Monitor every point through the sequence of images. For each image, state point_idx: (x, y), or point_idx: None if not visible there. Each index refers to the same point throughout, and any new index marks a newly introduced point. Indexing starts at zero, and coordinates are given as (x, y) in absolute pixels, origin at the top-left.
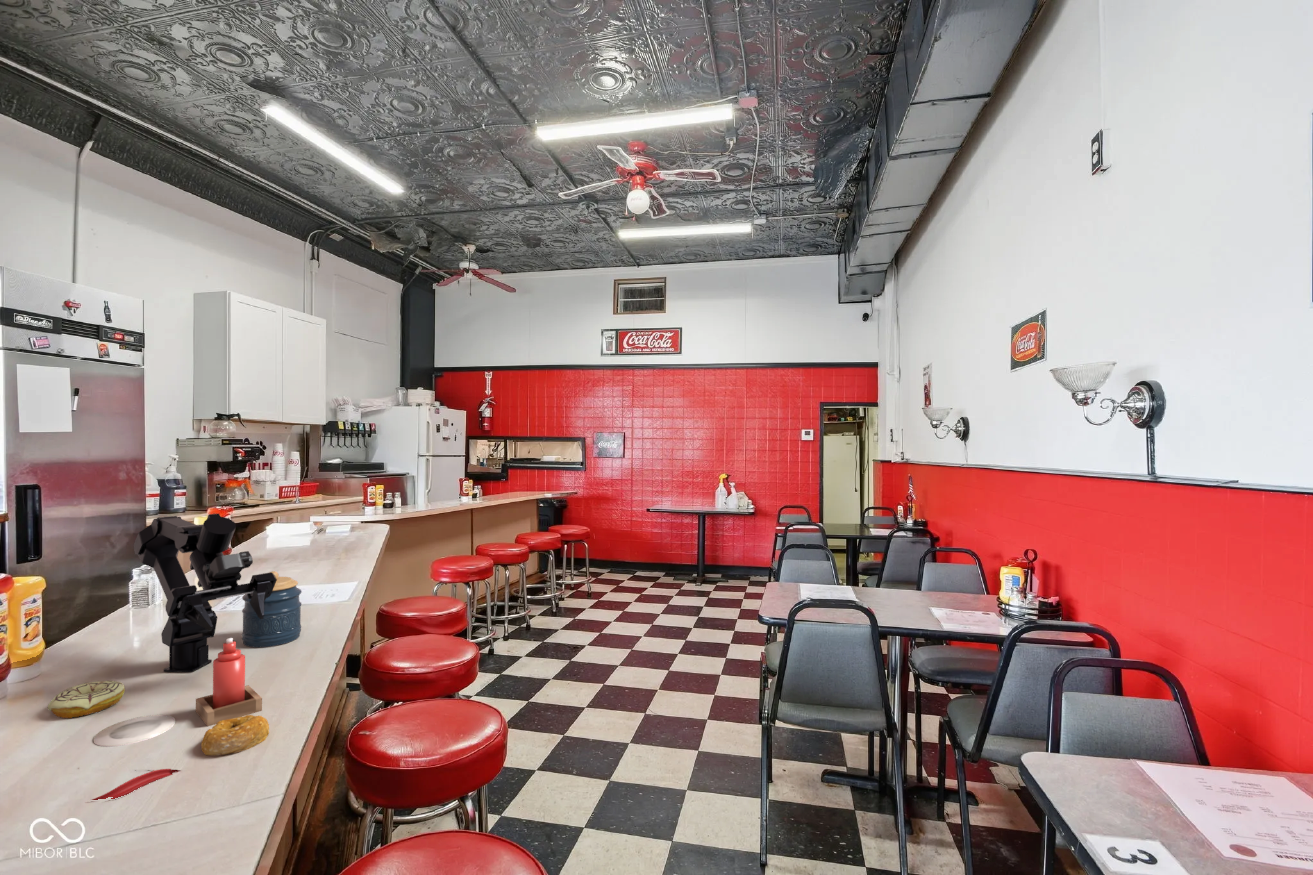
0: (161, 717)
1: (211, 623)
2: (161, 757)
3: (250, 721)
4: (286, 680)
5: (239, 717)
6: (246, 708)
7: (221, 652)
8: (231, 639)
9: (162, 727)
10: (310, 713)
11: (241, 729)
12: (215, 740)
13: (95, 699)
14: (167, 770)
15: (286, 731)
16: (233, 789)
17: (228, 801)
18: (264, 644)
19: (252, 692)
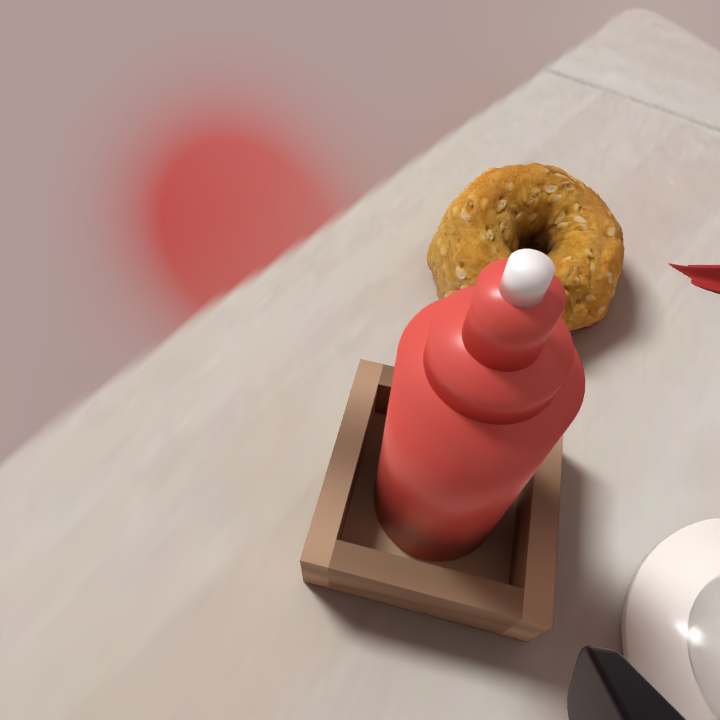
0: (676, 707)
1: (613, 686)
2: (702, 372)
3: (520, 170)
4: (27, 667)
5: None
6: None
7: (539, 382)
8: (522, 251)
9: (686, 570)
10: (273, 268)
11: (550, 168)
12: (608, 208)
13: None
14: (704, 269)
15: (390, 232)
16: (597, 128)
17: (617, 107)
18: None
19: (346, 448)
